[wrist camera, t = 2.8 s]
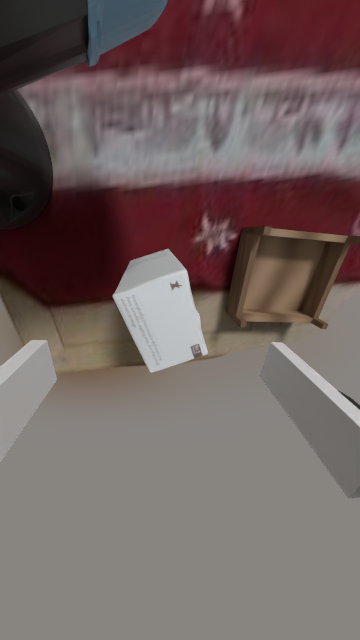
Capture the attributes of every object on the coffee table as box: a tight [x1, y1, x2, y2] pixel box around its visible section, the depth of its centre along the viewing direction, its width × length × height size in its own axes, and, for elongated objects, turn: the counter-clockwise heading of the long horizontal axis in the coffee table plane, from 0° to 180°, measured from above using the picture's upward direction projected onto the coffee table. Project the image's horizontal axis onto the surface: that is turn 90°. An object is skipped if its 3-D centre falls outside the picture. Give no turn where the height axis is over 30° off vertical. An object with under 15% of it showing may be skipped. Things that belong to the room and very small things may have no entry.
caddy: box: [226, 226, 360, 329], centre depth 27 cm, size 14×13×6 cm
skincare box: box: [113, 249, 208, 373], centre depth 21 cm, size 8×6×15 cm
